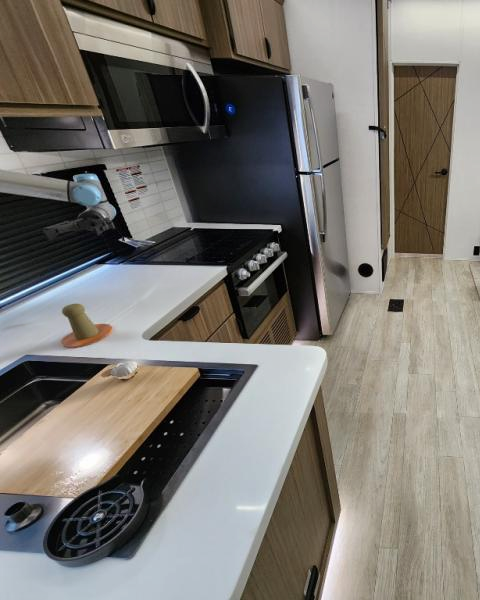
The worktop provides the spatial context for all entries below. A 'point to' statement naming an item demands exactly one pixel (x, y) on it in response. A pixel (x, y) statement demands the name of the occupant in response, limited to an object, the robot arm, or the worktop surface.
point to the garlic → (124, 368)
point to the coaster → (72, 342)
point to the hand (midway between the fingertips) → (71, 234)
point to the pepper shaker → (79, 321)
